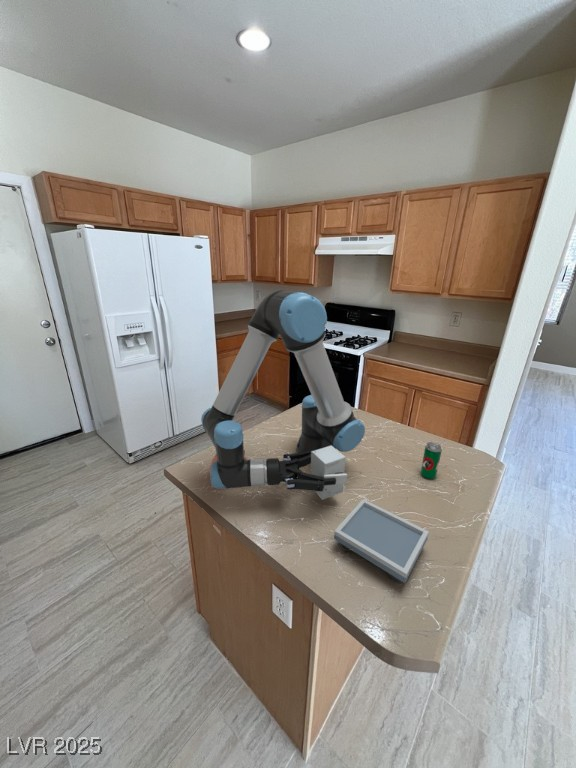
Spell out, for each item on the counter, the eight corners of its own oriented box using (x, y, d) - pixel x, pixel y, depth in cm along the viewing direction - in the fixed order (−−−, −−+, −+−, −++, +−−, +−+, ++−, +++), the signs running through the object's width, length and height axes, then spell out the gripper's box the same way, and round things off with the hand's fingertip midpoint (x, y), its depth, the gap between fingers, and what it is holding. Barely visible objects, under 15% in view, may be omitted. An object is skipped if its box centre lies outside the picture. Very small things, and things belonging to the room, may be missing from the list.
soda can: (437, 481, 104) (444, 450, 100) (421, 479, 105) (427, 448, 101) (434, 472, 109) (440, 442, 105) (418, 470, 110) (424, 440, 106)
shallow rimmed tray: (333, 548, 79) (334, 530, 77) (361, 514, 90) (362, 498, 88) (403, 592, 68) (406, 574, 66) (425, 548, 79) (428, 531, 77)
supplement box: (322, 501, 89) (324, 464, 85) (309, 485, 95) (310, 450, 91) (343, 492, 92) (346, 456, 88) (329, 478, 98) (331, 444, 94)
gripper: (265, 460, 101) (333, 456, 103) (267, 510, 81) (351, 504, 83) (264, 440, 99) (334, 437, 100) (266, 486, 78) (353, 481, 80)
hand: (342, 467), depth 91 cm, fingers closed on supplement box, 9 cm apart
